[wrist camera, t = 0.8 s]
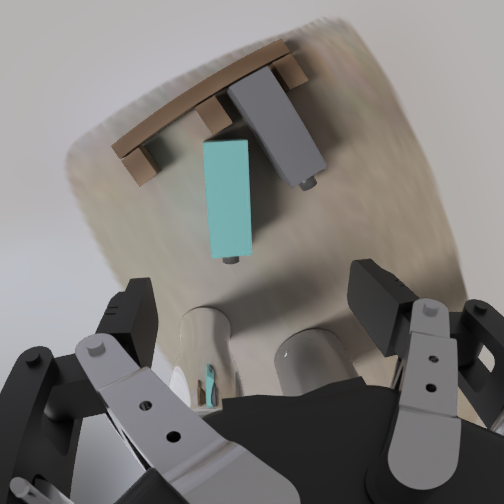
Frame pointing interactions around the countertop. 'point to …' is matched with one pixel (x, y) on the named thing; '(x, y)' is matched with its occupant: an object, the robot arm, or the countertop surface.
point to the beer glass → (205, 362)
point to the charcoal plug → (277, 128)
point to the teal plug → (228, 198)
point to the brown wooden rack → (204, 105)
